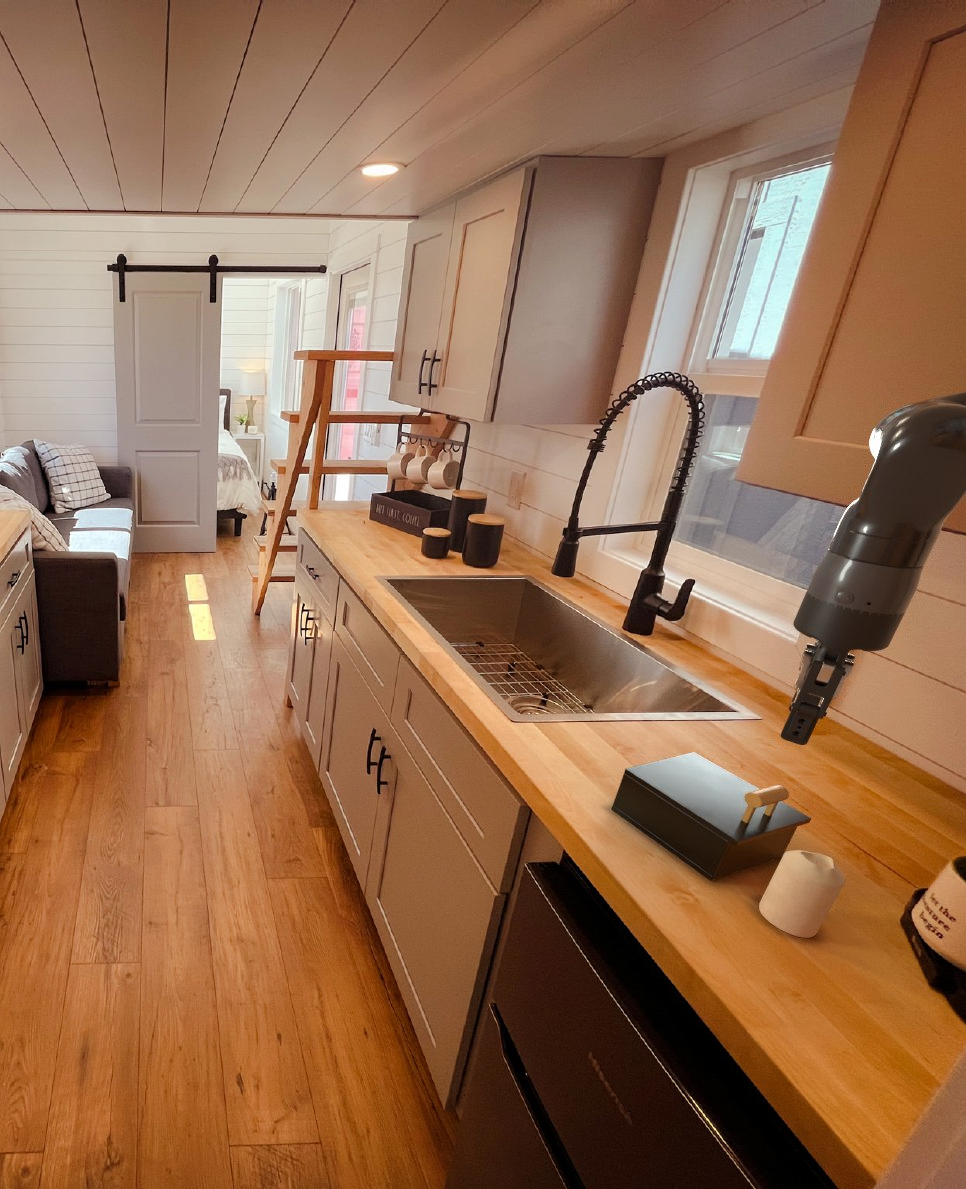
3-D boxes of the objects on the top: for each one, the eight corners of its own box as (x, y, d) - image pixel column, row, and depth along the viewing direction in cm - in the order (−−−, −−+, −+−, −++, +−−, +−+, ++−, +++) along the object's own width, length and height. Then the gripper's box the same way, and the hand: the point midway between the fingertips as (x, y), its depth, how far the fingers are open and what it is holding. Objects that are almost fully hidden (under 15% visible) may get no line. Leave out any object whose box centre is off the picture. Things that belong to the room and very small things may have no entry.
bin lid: (809, 822, 87) (825, 790, 85) (736, 846, 82) (751, 812, 80) (692, 755, 100) (703, 726, 98) (623, 772, 96) (634, 742, 94)
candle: (786, 900, 83) (817, 840, 79) (829, 937, 78) (864, 875, 74) (746, 902, 82) (776, 841, 79) (787, 939, 77) (820, 876, 74)
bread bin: (782, 857, 90) (801, 818, 87) (710, 881, 86) (728, 841, 83) (678, 791, 103) (692, 756, 100) (610, 809, 98) (623, 773, 96)
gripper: (908, 627, 61) (837, 767, 67) (906, 591, 70) (844, 718, 76) (802, 603, 66) (745, 736, 72) (813, 573, 75) (762, 693, 81)
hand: (796, 726), depth 74 cm, fingers open, 8 cm apart
